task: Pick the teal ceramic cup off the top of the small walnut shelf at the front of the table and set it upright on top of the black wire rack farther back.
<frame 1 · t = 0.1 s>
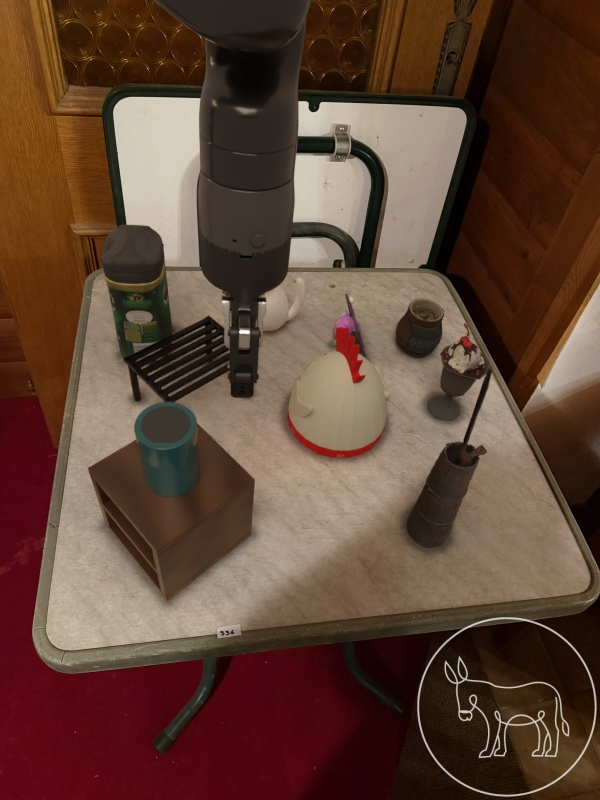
hand: (241, 364, 57), 20 cm above the table, tool pointing down, fingers open, 8 cm apart
cup: (172, 473, 57), point 12 cm above the table, touching shelf
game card: (345, 342, 91), on the table
cat figurine: (264, 321, 92), on the table
shelf: (179, 530, 66), on the table
rack: (192, 396, 80), on the table
butter churn: (433, 526, 70), on the table
sundae: (442, 409, 83), on the table
kitchen timer: (335, 419, 80), on the table
coffee jar: (146, 344, 86), on the table
mate gourd: (413, 348, 92), on the table
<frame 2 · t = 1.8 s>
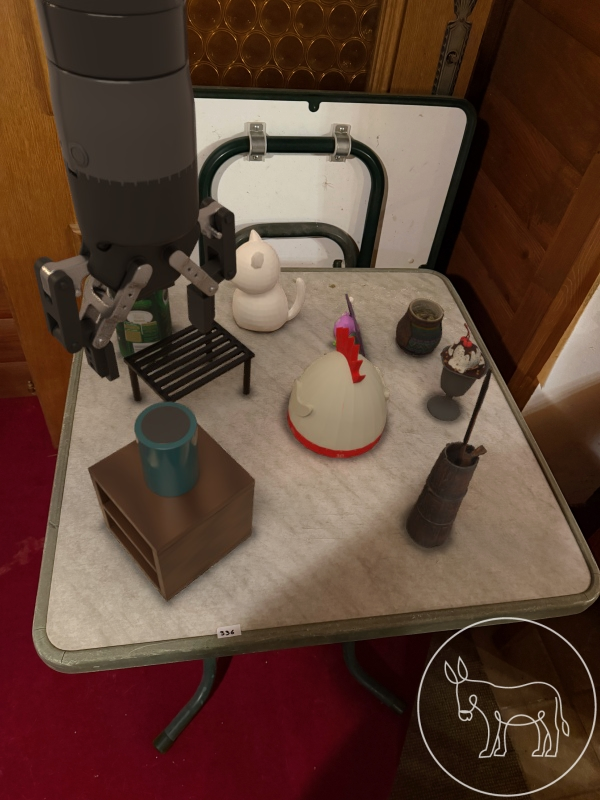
hand: (156, 349, 44), 29 cm above the table, tool pointing down, fingers open, 8 cm apart
nothing on the table moved.
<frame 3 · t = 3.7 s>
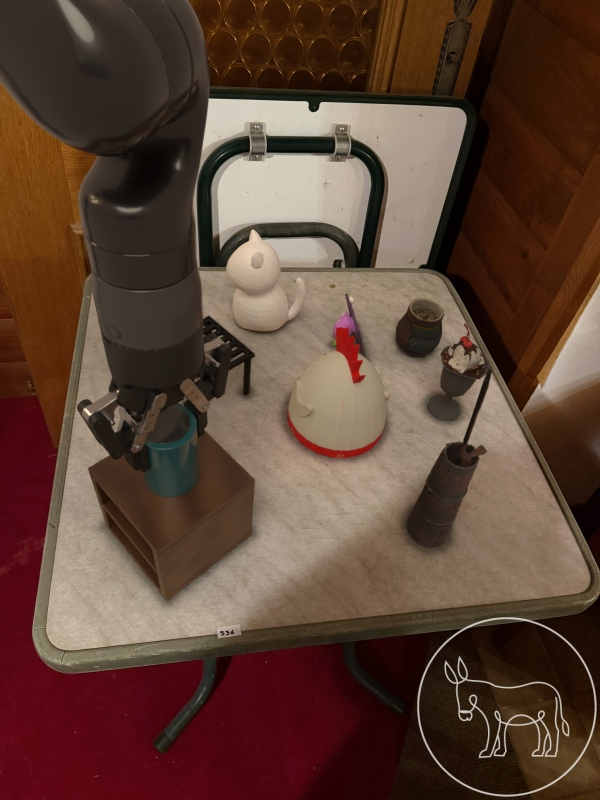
hand: (168, 447, 54), 17 cm above the table, tool pointing down, fingers closed on cup, 5 cm apart
cup: (172, 473, 57), point 12 cm above the table, touching gripper, shelf
everything else where it was.
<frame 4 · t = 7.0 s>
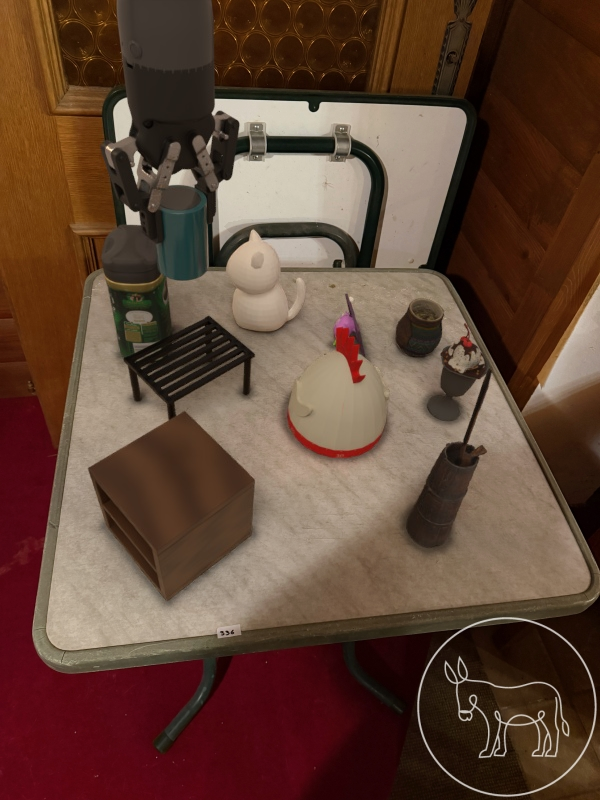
hand: (180, 229, 59), 28 cm above the table, tool pointing down, fingers closed on cup, 5 cm apart
cup: (183, 265, 62), point 23 cm above the table, touching gripper
everything else where it was.
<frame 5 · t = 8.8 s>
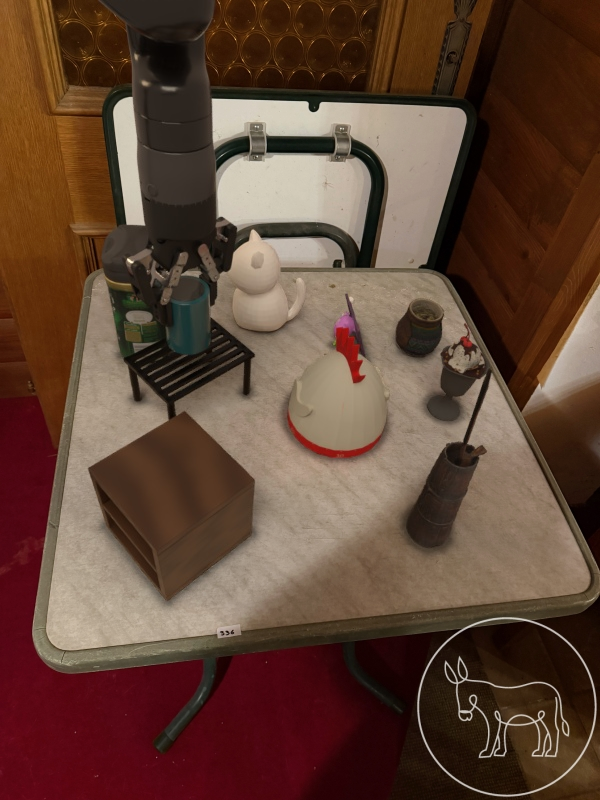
hand: (186, 312, 68), 15 cm above the table, tool pointing down, fingers closed on cup, 5 cm apart
cup: (189, 339, 72), point 11 cm above the table, touching gripper
everything else where it was.
when the fingers open (13 cm above the table, at t = 10.2 s): cup stays where it is, resting on rack.
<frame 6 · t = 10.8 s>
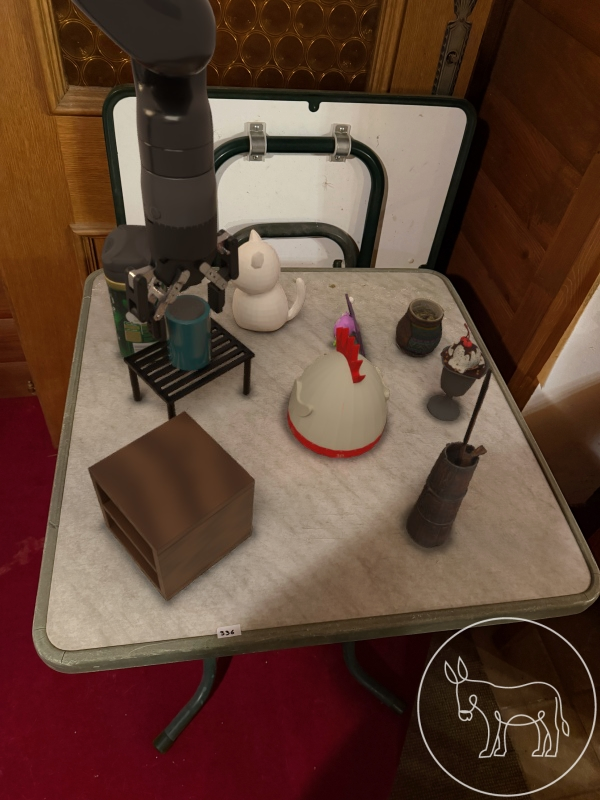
hand: (188, 323, 70), 14 cm above the table, tool pointing down, fingers open, 8 cm apart
cup: (190, 355, 74), point 8 cm above the table, touching rack
everything else where it was.
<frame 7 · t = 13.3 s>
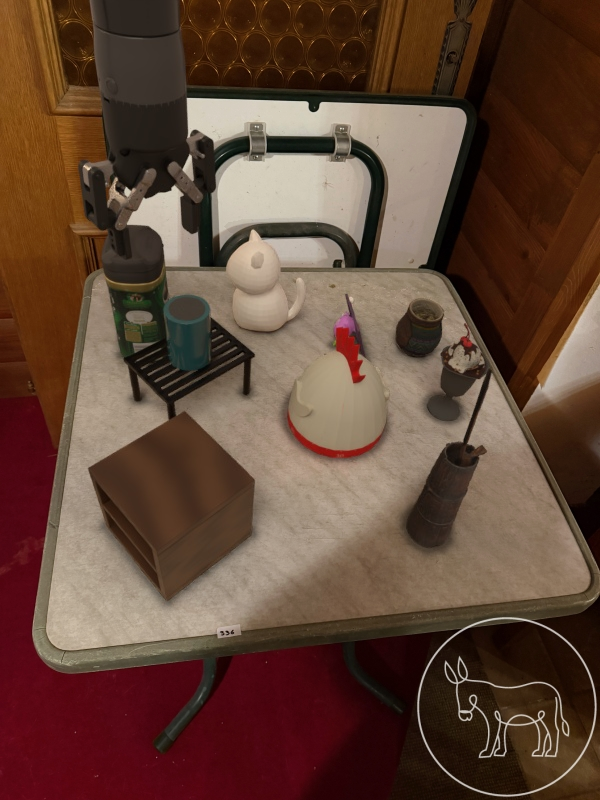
hand: (158, 242, 61), 25 cm above the table, tool pointing down, fingers open, 8 cm apart
nothing on the table moved.
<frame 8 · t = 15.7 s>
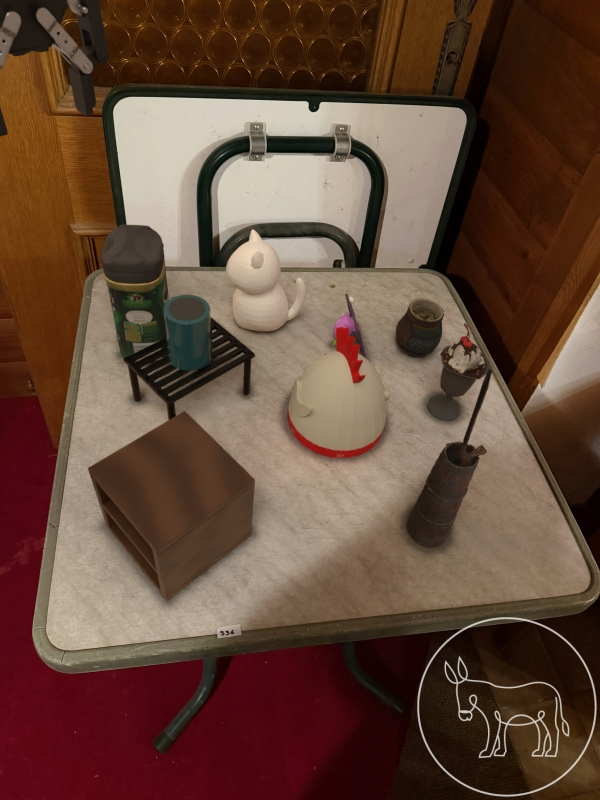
hand: (43, 122, 53), 36 cm above the table, tool pointing down, fingers open, 8 cm apart
nothing on the table moved.
at the end: cup inside the target area on the rack (0.0 cm from its centre), point 8.0 cm above the rack's base; cup tilted 0° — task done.
